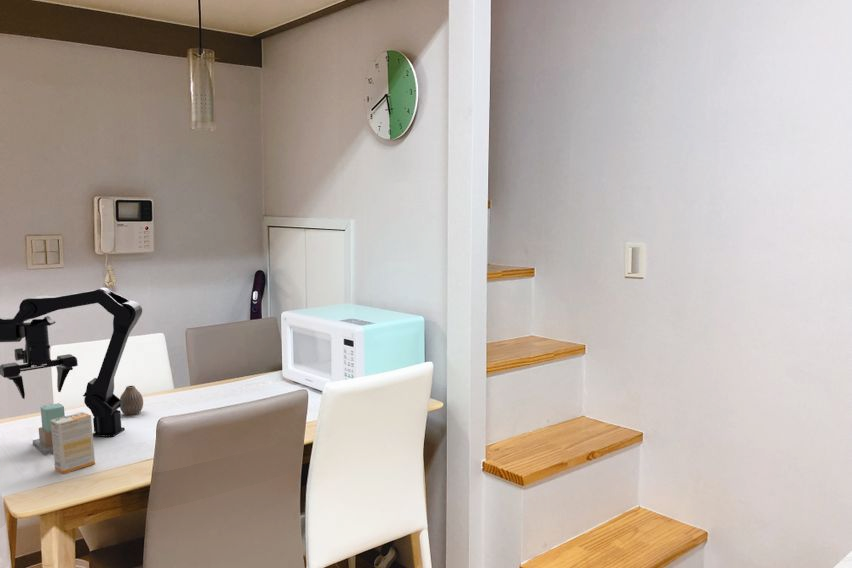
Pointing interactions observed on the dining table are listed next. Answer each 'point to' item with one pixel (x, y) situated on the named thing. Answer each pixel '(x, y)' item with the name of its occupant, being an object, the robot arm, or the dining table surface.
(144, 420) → the dining table surface
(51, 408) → the block
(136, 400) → the vase
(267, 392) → the dining table surface
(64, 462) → the supplement box
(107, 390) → the robot arm
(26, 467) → the dining table surface
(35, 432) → the dining table surface
